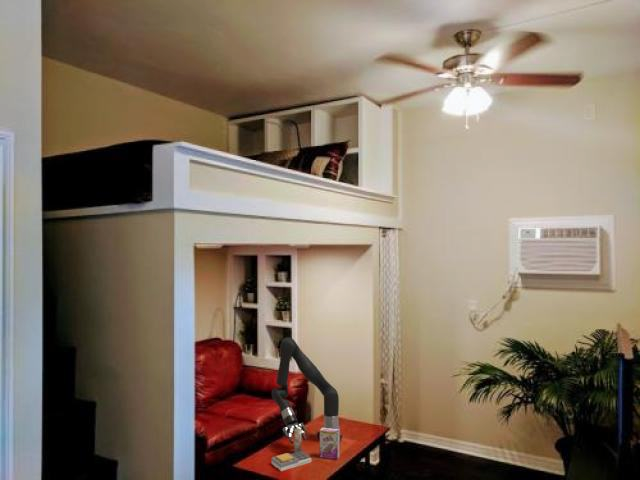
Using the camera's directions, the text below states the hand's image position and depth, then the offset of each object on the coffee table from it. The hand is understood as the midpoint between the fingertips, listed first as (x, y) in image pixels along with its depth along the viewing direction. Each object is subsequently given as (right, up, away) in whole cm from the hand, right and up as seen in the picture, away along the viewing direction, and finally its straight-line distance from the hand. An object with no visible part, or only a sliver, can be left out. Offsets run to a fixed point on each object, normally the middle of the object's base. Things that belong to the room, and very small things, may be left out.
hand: (298, 441), depth 295 cm
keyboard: (-4, -7, -12) cm, 15 cm away
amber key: (-7, -4, -15) cm, 17 cm away
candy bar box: (+18, -7, -6) cm, 20 cm away
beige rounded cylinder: (-1, -7, +1) cm, 7 cm away
